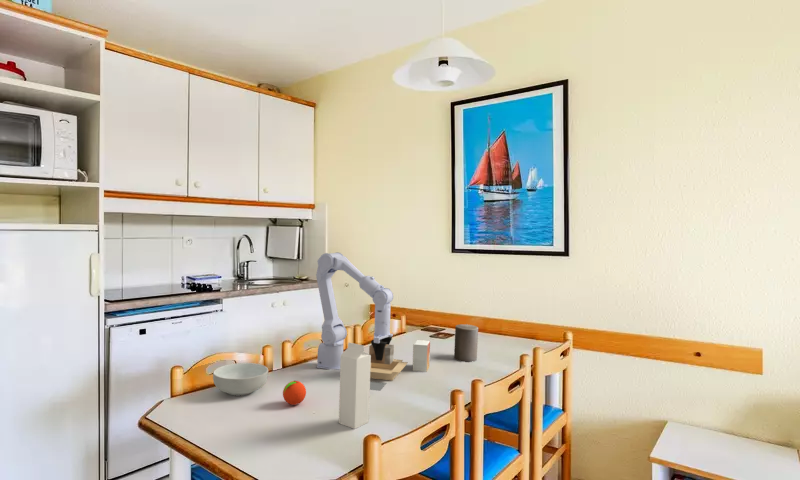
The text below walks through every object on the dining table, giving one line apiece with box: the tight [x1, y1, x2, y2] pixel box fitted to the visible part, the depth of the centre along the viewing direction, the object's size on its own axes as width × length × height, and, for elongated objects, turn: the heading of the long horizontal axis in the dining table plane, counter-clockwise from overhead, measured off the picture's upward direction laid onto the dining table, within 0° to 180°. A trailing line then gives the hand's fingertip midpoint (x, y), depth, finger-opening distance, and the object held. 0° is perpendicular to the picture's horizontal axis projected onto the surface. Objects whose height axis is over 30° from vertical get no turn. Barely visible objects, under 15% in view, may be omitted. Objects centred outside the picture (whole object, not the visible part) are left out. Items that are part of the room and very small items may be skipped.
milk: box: [338, 342, 371, 430], centre depth 130 cm, size 6×6×22 cm
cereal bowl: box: [212, 362, 269, 397], centre depth 152 cm, size 17×17×7 cm
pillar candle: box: [453, 323, 479, 363], centre depth 199 cm, size 10×10×15 cm
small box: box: [412, 339, 431, 373], centre depth 182 cm, size 8×6×10 cm
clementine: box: [282, 380, 307, 406], centre depth 142 cm, size 8×7×7 cm
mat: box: [370, 380, 387, 392], centre depth 161 cm, size 12×8×1 cm, turn 76°
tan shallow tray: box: [370, 358, 408, 381], centre depth 174 cm, size 17×18×4 cm
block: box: [368, 344, 395, 365], centre depth 174 cm, size 8×5×6 cm, turn 76°
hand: (381, 358), depth 174 cm, fingers closed on block, 5 cm apart
